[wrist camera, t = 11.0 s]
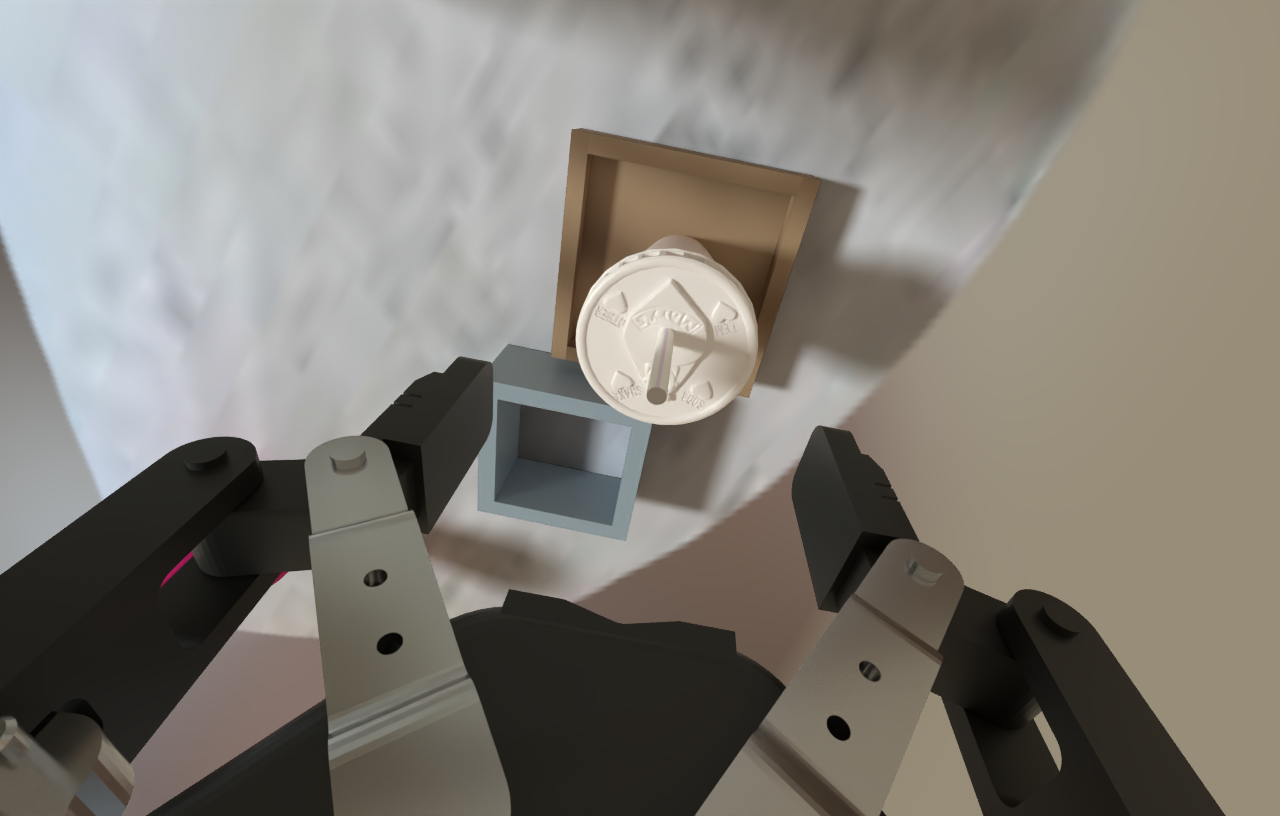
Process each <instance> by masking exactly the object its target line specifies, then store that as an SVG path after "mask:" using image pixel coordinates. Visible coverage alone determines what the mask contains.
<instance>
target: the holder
mask: <svg viewBox="0 0 1280 816" xmlns="http://www.w3.org/2000/svg"><path fill="white" fill-rule="evenodd" d="M492 365H493V421H492V426H491V430H490V434H489V436H488V438H487V440H486V442H485V444H484V445H483V447H482V449H481V450H480V452H479V453H478V511H482V512H487V513H492V514H497V515H502V516H507V517H512V518H516V519H521V520H526V521H531V522H536V523H541V524H545V525H550V526H555V527H560V528H565V529H570V530H574V531H579V532H584V533H589V534H594V535H599V536H603V537H608V538H613V539H618V540H623V541H626V538H627V534H628V529H629V525H630V520H631V516H632V511H633V507H634V502H635V498H636V494H637V489H638V485H639V480H640V476H641V471H642V467H643V462H644V458H645V453H646V449H647V445H648V440H649V436H650V431H651V427H652V423H647V422H642V421H639V420H636V419H633V418H631V417H629V416H626V415H624V414H623V413H621V412H619V411H617V410H616V409H614V408H613V407H611V406H610V405H609V404H607V403H606V402H605V401H604V400H603V399H602V398H601V397H600V396H599V395H598V394H597V393H596V392H595V391H594V389H593V388H592V387H591V385H590V384H589V382H588V380H587V379H586V377H585V375H584V373H583V371H582V368H581V366H580V363H578V362H573V361H569V360H564V359H559V358H554V357H551V353H547V352H542V351H538V350H533V349H528V348H523V347H518V346H513V345H509V344H508V345H507V346H506V347H505V348H504V350H503V351H502V352H501V353H500V354H499V356H498V357H497V358H496V359H495V360H494V361H493V363H492ZM521 404H523V405H527V406H532V407H537V408H542V409H547V410H552V411H557V412H561V413H566V414H571V415H576V416H581V417H586V418H590V419H595V420H600V421H605V422H610V423H615V424H619V425H624V426H629V427H632V429H631V434H630V439H629V444H628V449H627V454H626V459H625V464H624V469H623V474H622V479H620V478H615V477H610V476H605V475H600V474H596V473H591V472H586V471H581V470H576V469H571V468H567V467H562V466H557V465H552V464H547V463H542V462H538V461H533V460H528V459H523V458H518V445H519V429H520V412H521Z"/></svg>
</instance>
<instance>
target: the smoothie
mask: <svg viewBox="0 0 1280 816" xmlns="http://www.w3.org/2000/svg"><path fill="white" fill-rule="evenodd" d="M757 330H758V325H757V321H756V317H755V313H754V308H753V304H752V302H751V300H750V299H749V297H748V295H747V293H746V292H745V290H744V288H743V286H742V285H741V283H740V282H739V281H738V280H737V279H736V278H735V277H734V276H733V275H732V274H731V273H730V272H729V271H728V270H727V269H726V268H725V267H724V266H722V265H720V264H719V263H717V262H715V261H714V260H713V258H712V257H711V255H710V254H709V252H708V251H707V250H706V248H705V247H704V246H703V245H702V244H701V243H700V242H698V241H697V240H695V239H693V238H691V237H688V236H684V235H671V236H667V237H664V238H662V239H660V240H658V241H657V242H655V243H654V244H653V245H651V246H650V247H649V248H648V249H646V250H645V251H643V252H640V253H637V254H633V255H630V256H627V257H625V258H624V259H622V260H621V261H619V262H618V263H616V264H615V265H613V266H612V267H610V268H609V269H607V270H606V271H605V272H604V273H603V274H602V276H601V277H600V278H599V279H598V280H597V281H596V283H595V284H594V285H593V286H592V287H591V289H590V291H589V293H588V296H587V298H586V300H585V302H584V304H583V307H582V309H581V312H580V315H579V319H578V322H577V328H576V349H577V355H578V359H579V363H580V366H581V368H582V371H583V373H584V375H585V377H586V379H587V380H588V382H589V384H590V385H591V387H592V388H593V389H594V391H595V392H596V393H597V394H598V395H599V396H600V397H601V398H602V399H603V400H604V401H605V402H606V403H607V404H609V405H610V406H611V407H613V408H614V409H616V410H617V411H619V412H621V413H623V414H624V415H626V416H629V417H631V418H633V419H636V420H639V421H642V422H647V423H652V424H658V425H678V424H686V423H691V422H694V421H698V420H701V419H703V418H706V417H708V416H710V415H712V414H714V413H716V412H718V411H719V410H721V409H722V408H724V407H725V406H727V405H728V404H729V403H730V402H731V401H732V400H733V399H734V398H735V397H736V396H737V395H738V394H739V393H740V392H741V390H742V389H743V388H744V386H745V385H746V383H747V381H748V380H749V378H750V376H751V374H752V371H753V368H754V366H755V362H756V358H757V351H758V332H757Z"/></svg>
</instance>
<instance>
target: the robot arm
mask: <svg viewBox="0 0 1280 816" xmlns="http://www.w3.org/2000/svg"><path fill="white" fill-rule="evenodd" d="M492 421H493V365H492V363H491V362H487V361H482V360H477V359H472V358H466V357H458V358H457V359H456V360H455V361H454V362H453V363H452V364H451V365H450V366H449V368H448V369H447V370H446V371H445V372H444V373H438V372H433V373H431V374H428V375H426V376H424V377H422V378H420V379H417V380H415V381H414V382H413V383H412V384H411V385H410V386H409V387H408V388H407V389H406V390H405V391H404V394H403V395H400V396H399V397H398V398H397V399H396V400H395V401H394V404H393V405H392V404H391V405H390V406H389V407H388V408H387V409H386V410H385V411H384V412H383V413H382V414H381V415H380V416H379V417H378V418H377V419H376V420H375V421H374V422H373V423H372V424H371V425H370V426H369V427H368V428H367V429H366V430H365V431H364V432H363V433H362V434H361V435H360V436H347V437H341V438H337V439H333V440H330V441H328V442H325V443H323V444H321V445H320V446H318V447H316V448H315V449H314V450H312V451H311V452H310V453H309V455H308V456H307V458H306V459H302V460H271V461H259V458H258V454H257V451H256V448H255V446H254V445H253V444H252V443H250V442H249V441H247V440H244V439H241V438H236V437H212V438H206V439H201V440H197V441H194V442H191V443H187V444H185V445H182V446H180V447H178V448H176V449H174V450H172V451H170V452H169V453H167V454H166V455H164V456H163V457H162V458H160V459H159V460H158V461H156V462H155V463H153V464H152V465H151V466H149V467H148V468H147V469H145V470H144V471H142V472H141V473H140V474H138V475H137V476H136V477H134V478H133V479H131V480H130V481H129V482H127V483H126V484H125V485H123V486H122V487H120V488H119V489H118V490H116V491H115V492H114V493H112V494H111V495H110V496H108V497H107V498H105V499H104V500H103V501H101V502H100V503H99V504H97V505H96V506H94V507H93V508H92V509H91V510H89V511H88V512H86V513H85V514H83V515H82V516H81V517H79V518H78V519H77V520H75V521H74V522H73V523H71V524H70V525H68V526H67V527H66V528H64V529H63V530H61V531H60V532H59V533H57V534H56V535H55V536H53V537H52V538H51V539H49V540H48V541H46V542H45V543H44V544H42V545H41V546H40V547H38V548H37V549H35V550H34V551H33V552H31V553H30V554H29V555H27V556H26V557H25V558H23V559H22V560H20V561H19V562H18V563H16V564H15V565H14V566H12V567H11V568H10V569H8V570H7V571H5V572H4V573H2V574H1V575H0V816H121V815H122V814H123V812H124V811H125V809H126V807H127V805H128V803H129V800H130V798H131V795H132V792H133V788H134V779H135V778H134V773H133V769H132V767H131V766H130V763H131V762H132V761H133V759H134V758H135V757H136V756H137V754H138V753H139V752H140V751H141V749H142V748H143V747H144V745H145V744H146V743H147V742H148V740H149V739H150V738H151V737H152V735H153V734H154V733H155V732H156V730H157V729H158V728H159V727H160V725H161V724H162V723H163V721H164V720H165V719H166V718H167V716H168V715H169V714H170V713H171V711H172V710H173V709H174V708H175V706H176V705H177V704H178V702H179V701H180V700H181V699H182V698H183V696H184V695H185V694H186V693H187V691H188V690H189V689H190V687H191V686H192V685H193V684H194V682H195V681H196V680H197V679H198V677H199V676H200V675H201V674H202V672H203V671H204V670H205V669H206V667H207V666H208V665H209V664H210V662H211V661H212V660H213V658H214V657H215V656H216V655H217V653H218V652H219V651H220V650H221V648H222V647H223V646H224V645H225V643H226V642H227V641H228V640H229V638H230V637H231V636H232V634H233V633H234V632H235V631H236V629H237V628H238V627H239V626H240V624H241V623H242V622H243V621H244V619H245V618H246V617H247V616H248V614H249V613H250V612H251V611H252V609H253V608H254V607H255V605H256V604H257V603H258V602H259V600H260V599H261V598H262V597H263V595H264V594H265V593H266V592H267V590H268V589H269V588H270V587H271V585H272V584H273V583H274V581H275V580H276V579H277V578H278V576H279V575H280V574H281V573H282V572H290V571H302V570H312V576H313V585H314V595H315V604H316V613H317V623H318V632H319V641H320V651H321V660H322V670H323V678H324V687H325V699H324V700H322V701H321V702H319V703H318V704H316V705H315V706H313V707H312V708H310V709H308V710H307V711H305V712H304V713H303V714H301V715H300V716H298V717H296V718H295V719H293V720H292V721H290V722H289V723H287V724H286V725H284V726H282V727H281V728H279V729H278V730H276V731H275V732H273V733H272V734H270V735H269V736H267V737H266V738H264V739H263V740H261V741H259V742H258V743H257V744H255V745H254V746H252V747H250V748H249V749H247V750H246V751H244V752H243V753H241V754H240V755H238V756H237V757H235V758H234V759H232V760H230V761H229V762H227V763H226V764H224V765H223V766H221V767H220V768H218V769H217V770H215V771H214V772H212V773H211V774H209V775H207V776H206V777H204V778H203V779H201V780H200V781H198V782H197V783H195V784H194V785H192V786H191V787H189V788H188V789H186V790H184V791H183V792H181V793H180V794H179V795H177V796H175V797H174V798H172V799H171V800H169V801H168V802H166V803H165V804H163V805H162V806H160V807H158V808H157V809H156V810H154V811H152V812H151V813H149V814H148V815H146V816H886V815H885V814H884V812H883V811H882V808H883V805H884V803H885V800H886V798H887V795H888V793H889V791H890V788H891V786H892V783H893V781H894V778H895V776H896V773H897V771H898V768H899V766H900V764H901V761H902V759H903V756H904V754H905V752H906V749H907V747H908V744H909V742H910V739H911V737H912V734H913V732H914V730H915V727H916V724H917V722H918V720H919V717H920V715H921V712H922V710H923V708H924V705H925V703H926V700H927V698H928V695H929V693H930V691H931V692H933V693H935V694H937V695H939V696H941V697H942V700H943V703H944V706H945V709H946V712H947V714H948V717H949V720H950V723H951V726H952V729H953V731H954V734H955V737H956V740H957V742H958V745H959V748H960V751H961V754H962V756H963V759H964V762H965V765H966V768H967V771H968V773H969V776H970V779H971V782H972V785H973V788H974V790H975V793H976V796H977V799H978V802H979V805H980V807H981V810H982V813H983V816H1225V814H1224V813H1223V812H1222V810H1221V809H1220V807H1219V806H1218V804H1217V803H1216V801H1215V800H1214V799H1213V797H1212V796H1211V794H1210V793H1209V791H1208V790H1207V789H1206V788H1205V786H1204V784H1203V783H1202V781H1201V780H1200V779H1199V777H1198V776H1197V774H1196V773H1195V771H1194V770H1193V768H1192V767H1191V766H1190V764H1189V763H1188V761H1187V760H1186V758H1185V757H1184V756H1183V754H1182V753H1181V751H1180V750H1179V748H1178V747H1177V746H1176V744H1175V743H1174V741H1173V740H1172V738H1171V737H1170V736H1169V734H1168V733H1167V731H1166V730H1165V728H1164V727H1163V725H1162V724H1161V723H1160V721H1159V720H1158V718H1157V717H1156V715H1155V714H1154V712H1153V711H1152V710H1151V708H1150V707H1149V705H1148V704H1147V702H1146V701H1145V700H1144V698H1143V697H1142V696H1141V694H1140V692H1139V691H1138V690H1137V688H1136V687H1135V685H1134V684H1133V683H1132V681H1131V679H1130V678H1129V677H1128V675H1127V674H1126V672H1125V671H1124V669H1123V668H1122V667H1121V665H1120V664H1119V662H1118V661H1117V659H1116V658H1115V657H1114V655H1113V654H1112V652H1111V651H1110V649H1109V648H1108V646H1107V645H1106V644H1105V642H1104V641H1103V640H1102V638H1101V636H1100V635H1099V634H1098V632H1097V631H1096V630H1095V628H1094V627H1093V626H1092V625H1091V624H1090V623H1089V622H1088V621H1087V619H1085V618H1084V617H1083V616H1082V615H1081V614H1080V613H1078V612H1077V611H1076V610H1075V609H1073V608H1072V607H1070V606H1069V605H1068V604H1066V603H1064V602H1063V601H1061V600H1059V599H1057V598H1055V597H1053V596H1051V595H1049V594H1046V593H1044V592H1040V591H1037V590H1031V589H1028V590H1027V589H1024V590H1020V591H1018V592H1016V593H1015V595H1014V596H1013V597H1012V598H1011V599H1010V600H1009V601H1008V603H1004V602H1002V601H999V600H997V599H995V598H992V597H990V596H988V595H985V594H983V593H981V592H978V591H976V590H973V589H971V588H969V587H967V586H965V585H964V581H963V578H962V576H961V574H960V572H959V571H958V569H957V568H956V566H955V565H954V564H953V563H952V562H951V561H950V560H949V559H948V558H947V557H946V556H944V555H943V554H942V553H940V552H939V551H937V550H936V549H934V548H932V547H930V546H928V545H926V544H924V543H921V542H919V540H918V538H917V536H916V534H915V532H914V530H913V528H912V526H911V524H910V522H909V520H908V518H907V516H906V514H905V512H904V510H903V508H902V506H901V504H900V502H898V501H897V499H898V498H897V496H896V494H895V492H894V490H893V489H891V484H890V482H889V480H888V478H887V476H886V475H885V472H884V470H883V469H882V468H881V467H880V466H878V465H877V463H876V462H875V461H874V460H873V459H872V458H870V457H869V455H864V454H861V452H860V450H859V448H858V446H857V444H856V441H855V439H854V437H853V435H852V433H851V432H850V431H846V430H840V429H835V428H830V427H825V426H817V427H816V428H815V429H814V431H813V432H812V435H811V437H810V439H809V442H808V444H807V446H806V449H805V451H804V454H803V456H802V458H801V461H800V463H799V465H798V468H797V470H796V472H795V475H794V479H793V483H792V501H793V505H794V509H795V513H796V517H797V521H798V526H799V530H800V534H801V538H802V542H803V546H804V550H805V555H806V558H807V563H808V567H809V571H810V576H811V579H812V584H813V588H814V592H815V596H816V601H817V605H818V609H819V610H825V611H830V612H836V613H838V614H837V616H836V617H835V619H834V620H833V621H832V623H831V624H830V626H829V627H828V629H827V630H826V631H825V633H824V634H823V636H822V637H821V639H820V640H819V641H818V643H817V644H816V646H815V647H814V649H813V650H812V651H811V653H810V654H809V656H808V657H807V659H806V660H805V661H804V663H803V664H802V666H801V667H800V669H799V670H798V671H797V673H796V674H795V676H794V677H793V679H792V680H791V681H790V683H789V684H788V686H787V687H785V685H784V684H783V683H782V682H781V681H780V680H779V679H777V678H776V677H775V676H774V675H773V674H772V673H770V672H769V671H768V670H767V669H765V668H764V667H763V666H761V665H760V664H758V663H757V662H755V661H754V660H752V659H750V658H749V657H747V656H745V655H743V654H741V653H739V652H737V651H736V641H735V640H736V639H735V632H733V631H729V630H723V629H718V628H713V627H707V626H702V625H697V624H691V623H686V622H681V621H675V622H658V623H657V622H656V623H636V624H621V623H617V622H614V621H612V620H609V619H607V618H605V617H603V616H600V615H598V614H595V613H593V612H591V611H589V610H587V609H585V608H582V607H580V606H578V605H576V604H573V603H571V602H569V601H567V600H564V599H559V598H553V597H548V596H543V595H538V594H532V593H527V592H522V591H516V590H511V589H509V591H508V594H507V596H506V599H505V601H504V604H503V607H493V608H487V609H480V610H476V611H473V612H469V613H465V614H462V615H460V616H457V617H455V618H452V619H450V620H449V617H448V614H447V611H446V608H445V605H444V601H443V598H442V595H441V592H440V589H439V586H438V583H437V580H436V577H435V574H434V571H433V568H432V565H431V562H430V558H429V555H428V552H427V549H426V546H425V543H424V540H423V537H422V534H421V533H425V534H429V533H430V531H431V530H432V528H433V526H434V525H435V523H436V521H437V520H438V518H439V517H440V515H441V513H442V512H443V510H444V508H445V507H446V505H447V504H448V502H449V500H450V499H451V497H452V496H453V494H454V492H455V491H456V489H457V487H458V486H459V484H460V483H461V481H462V479H463V478H464V476H465V474H466V473H467V471H468V470H469V468H470V466H471V465H472V463H473V462H474V460H475V458H476V457H477V455H478V453H479V452H480V450H481V449H482V447H483V445H484V444H485V442H486V440H487V438H488V436H489V434H490V430H491V426H492ZM191 551H192V553H193V556H192V557H191V558H190V559H189V560H188V561H187V562H186V563H185V564H184V565H183V566H182V567H181V568H180V569H179V570H178V571H177V572H176V573H175V574H174V575H173V576H172V577H171V578H170V579H169V580H168V581H167V582H166V583H165V584H164V585H163V586H162V587H161V585H162V583H163V581H164V579H165V578H166V576H167V575H168V574H169V573H170V572H171V571H172V570H173V569H174V568H175V567H176V566H177V565H178V564H179V563H180V562H181V561H182V560H183V559H184V558H185V557H186V556H187V555H188V554H189V553H190V552H191ZM160 587H161V588H160ZM1041 711H1042V712H1043V714H1044V716H1045V718H1046V720H1047V722H1048V724H1049V726H1050V728H1051V730H1052V732H1053V733H1054V735H1055V737H1056V739H1057V742H1058V744H1059V746H1060V750H1061V756H1062V765H1061V770H1060V772H1059V770H1058V768H1057V766H1056V764H1055V762H1054V759H1053V757H1052V755H1051V753H1050V751H1049V749H1048V747H1047V745H1046V743H1045V741H1044V739H1043V737H1042V735H1041V733H1040V731H1039V729H1038V727H1037V725H1036V723H1035V721H1034V719H1033V718H1034V717H1035V716H1037V715H1038V714H1039V713H1040V712H1041Z"/></svg>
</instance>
